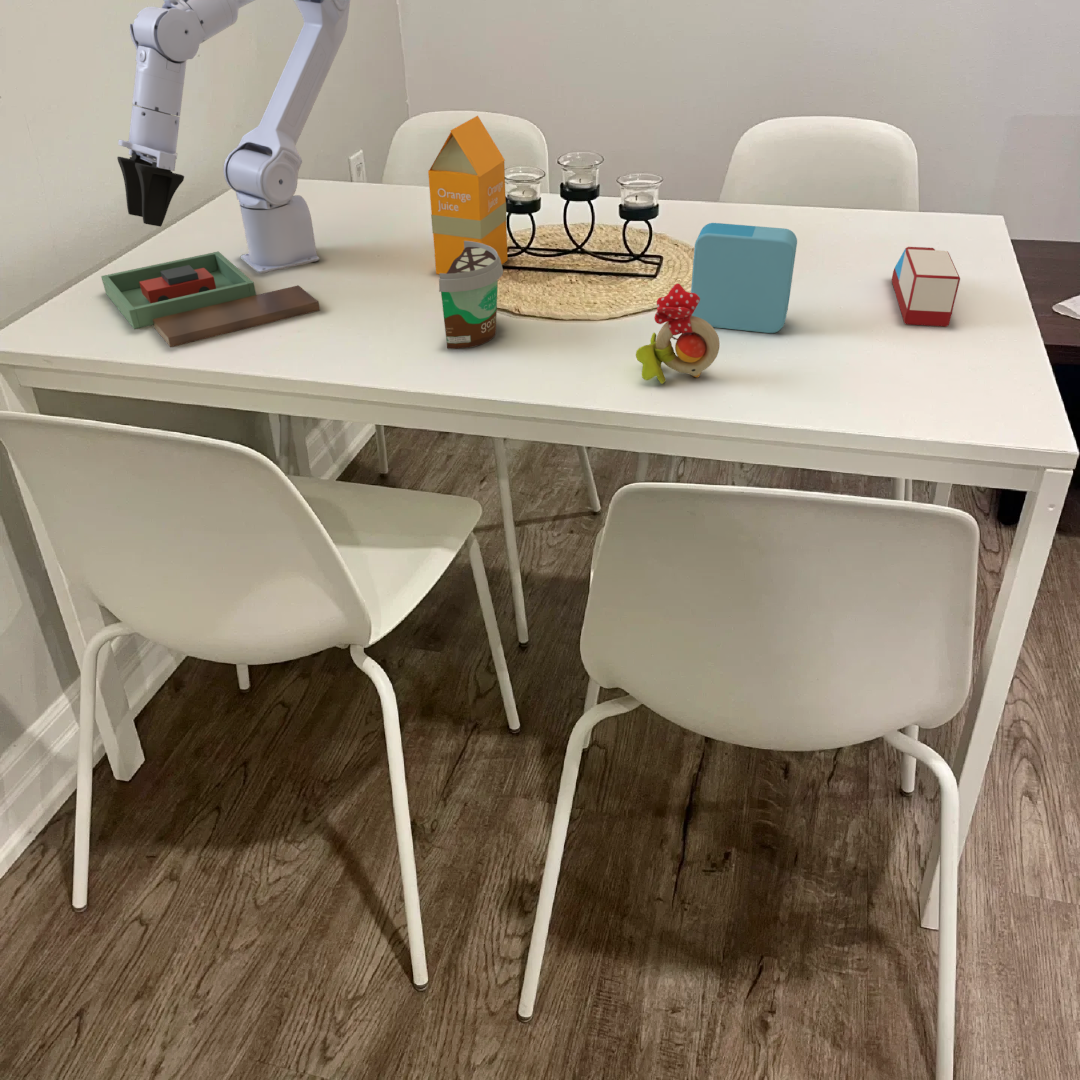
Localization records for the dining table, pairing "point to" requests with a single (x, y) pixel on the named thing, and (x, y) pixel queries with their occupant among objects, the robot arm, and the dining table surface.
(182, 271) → the toy car
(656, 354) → the bird rattle
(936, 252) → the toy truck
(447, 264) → the orange juice
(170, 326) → the board
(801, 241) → the dining table surface
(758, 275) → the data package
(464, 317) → the food container
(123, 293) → the tray
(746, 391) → the dining table surface
